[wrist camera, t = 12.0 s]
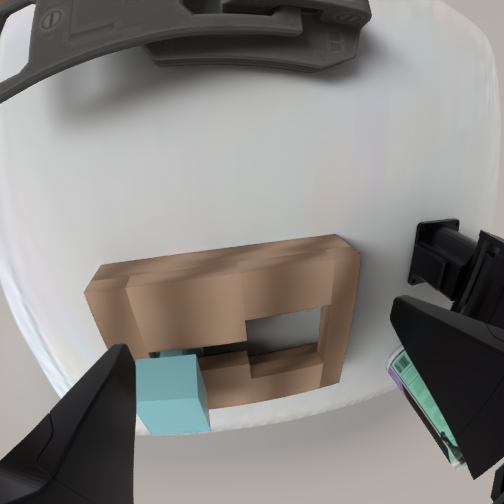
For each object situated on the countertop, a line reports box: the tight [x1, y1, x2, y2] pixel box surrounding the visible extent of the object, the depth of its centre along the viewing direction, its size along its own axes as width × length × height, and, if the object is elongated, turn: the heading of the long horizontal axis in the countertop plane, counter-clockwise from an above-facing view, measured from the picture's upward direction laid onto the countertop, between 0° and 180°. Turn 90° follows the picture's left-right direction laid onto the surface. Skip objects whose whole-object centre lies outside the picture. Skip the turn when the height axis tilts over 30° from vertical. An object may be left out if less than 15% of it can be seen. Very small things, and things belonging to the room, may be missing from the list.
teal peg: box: [135, 347, 211, 435], centre depth 18 cm, size 4×4×9 cm
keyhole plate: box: [84, 234, 361, 409], centre depth 21 cm, size 18×13×4 cm
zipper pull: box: [0, 0, 372, 104], centre depth 10 cm, size 9×7×25 cm
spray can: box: [386, 345, 468, 470], centre depth 21 cm, size 6×6×20 cm
